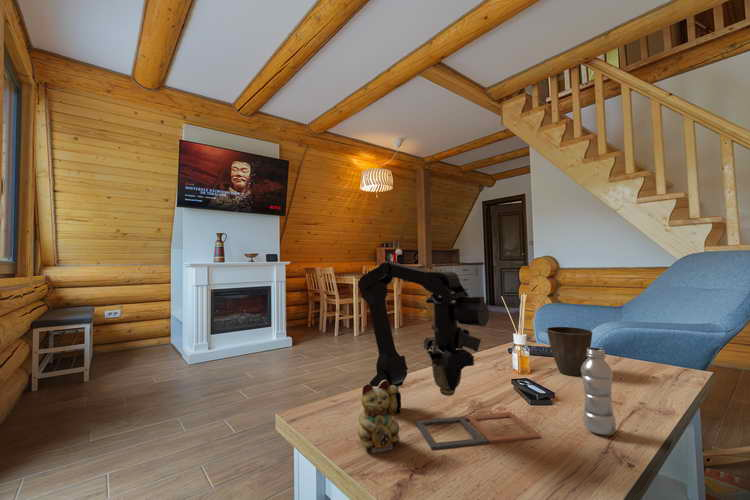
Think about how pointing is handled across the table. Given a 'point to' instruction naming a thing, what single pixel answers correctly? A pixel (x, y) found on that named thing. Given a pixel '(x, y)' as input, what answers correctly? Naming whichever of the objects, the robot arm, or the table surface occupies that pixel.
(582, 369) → the plastic bottle
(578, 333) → the plant pot
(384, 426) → the decorative figurine
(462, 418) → the rectangular frame
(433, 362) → the dark ridged bell shape
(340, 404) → the table surface
